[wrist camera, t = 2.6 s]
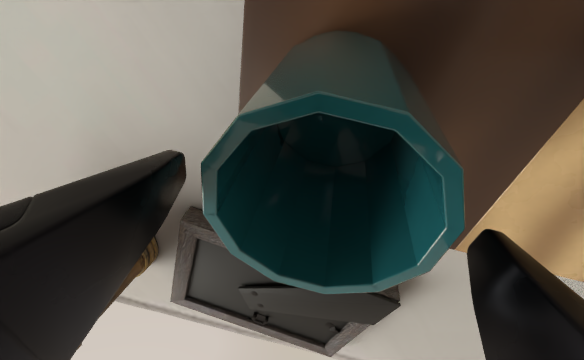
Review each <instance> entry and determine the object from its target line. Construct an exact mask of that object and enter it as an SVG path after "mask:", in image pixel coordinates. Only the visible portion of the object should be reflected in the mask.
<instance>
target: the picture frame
mask: <svg viewBox="0 0 584 360" xmlns="http://www.w3.org/2000/svg"><path fill="white" fill-rule="evenodd" d="M399 301H400V298H399V291H398V285H395V286H393V287H390V288H388V289H385V290H383V291H380V292H368V293H344V294H322V293H318V292H314V291H310V290H306V289H302V288H298V287H295V286H291V285H287V284H283V283H279V282H275V281H273V280H271V279H270V278H268V277H266V276H265V275H263V274H262V273H260V272H259V271H257V270H255V269H254V268H252V267H251V266H249V265H248V264H246V263H244V262H243V261H241V260H240V259H238V258H237V257H235V256H233V255H232V254H230V252H229V251H228V249H227V248H226V246H225V245H224V244H223V242H222V241H221V239H220V238H219V236H218V235H217V233H216V232H215V231H214V229H213V228H212V226H211V225H210V223H209V222H208V220H207V219H206V218H205V216H204V215H203V211H202V210H199V209H196V208H194V207H191V206H190V208H189V209H188V211H187V212H186V213H185V215H184V216H183V218H182V219H181V222H180V230H179V238H178V246H177V254H176V262H175V270H174V278H173V286H172V294H171V302H173V303H175V304H178V305H181V306H184V307H187V308H190V309H193V310H196V311H199V312H201V313H204V314H207V315H210V316H213V317H216V318H219V319H222V320H225V321H228V322H230V323H233V324H236V325H239V326H242V327H245V328H248V329H251V330H254V331H257V332H259V333H262V334H265V335H268V336H271V337H274V338H277V339H280V340H283V341H286V342H288V343H291V344H294V345H297V346H300V347H303V348H306V349H309V350H312V351H315V352H317V353H320V354H323V355H326V356H329V357H331V356H333V355H334V354H335V353H336V352H337V351H339V350H340V349H341V348H342V347H344V346H345V345H346V344H347V343H349V342H350V341H351V340H352V339H353V338H355V337H356V336H357V335H358V334H360V333H361V332H362V331H363V330H364V329H366V328H367V327H368V326H369V325H374V324H376V323H377V322H379V321H380V320H381V319H383V318H384V317H386V316H387V315H388V314H390V313H391V312H393V311H394V310H395V309H397V308H398V307H400V303H398V302H399Z"/></svg>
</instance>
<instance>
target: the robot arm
mask: <svg viewBox="0 0 584 360" xmlns="http://www.w3.org/2000/svg"><path fill="white" fill-rule="evenodd" d="M185 179H186V166H185V157H184V154H183V153H181V152H177V151H173V150H167V151H164V152H161V153H158V154H155V155H152V156H149V157H146V158H144V159H141V160H138V161H135V162H132V163H129V164H126V165H123V166H120V167H117V168H114V169H111V170H108V171H105V172H102V173H99V174H96V175H93V176H90V177H87V178H84V179H81V180H78V181H75V182H72V183H69V184H66V185H63V186H60V187H57V188H54V189H52V190H49V191H46V192H43V193H40V194H37V195H34V197H28V198H25V199H22V200H19V201H16V202H13V203H10V204H7V205H4V206H1V207H0V360H70V359H71V358H72V356H73V355H74V353H75V352H76V350H77V349H78V347H79V346H80V344H81V343H82V341H83V340H84V338H85V337H86V336H87V334H88V333H89V331H90V330H91V328H92V327H93V325H94V324H95V322H96V321H97V319H98V318H99V317H100V315H101V314H102V312H103V311H104V309H105V308H106V306H107V305H108V303H109V302H110V300H111V299H112V297H113V296H114V295H115V293H116V292H117V290H118V289H119V287H120V286H121V284H122V283H123V281H124V280H125V278H126V277H127V275H128V274H129V273H130V271H131V270H132V268H133V267H134V265H135V264H136V262H137V261H138V259H139V258H140V256H141V255H142V253H143V252H144V251H145V249H146V248H147V246H148V245H149V243H150V242H151V240H152V239H153V237H154V236H155V234H156V233H157V231H158V230H159V228H160V227H161V225H162V224H163V222H164V220H165V219H166V217H167V215H168V213H169V211H170V209H171V207H172V205H173V203H174V202H175V200H176V198H177V196H178V194H179V192H180V190H181V188H182V186H183V184H184V182H185ZM467 259H468V268H469V276H470V285H471V293H472V300H473V306H474V311H475V315H476V319H477V324H478V328H479V332H480V337H481V341H482V345H483V349H484V354H485V358H486V360H584V299H583V298H581V297H580V296H579V295H578V294H577V293H575V292H574V291H573V290H572V289H571V288H569V287H568V286H567V285H566V284H564V283H563V282H562V281H561V280H560V279H558V278H557V277H556V276H555V275H554V274H552V273H551V272H550V271H549V270H548V269H546V268H545V267H544V266H543V265H541V264H540V263H539V262H538V261H537V260H535V259H534V258H533V257H532V256H531V255H529V254H528V253H527V252H526V251H525V250H523V249H522V248H521V247H520V246H518V245H517V244H516V243H515V242H514V241H512V240H511V239H510V238H509V237H508V236H506V235H505V234H504V233H502V232H500V231H496V230H492V229H485V230H483V231H482V232H481V233H480V234H479V235H478V236H477V237H476V238H475V240H474V241H473V242H472V243H471V244H470V245H469V247H468V249H467Z"/></svg>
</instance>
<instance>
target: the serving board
mask: <svg viewBox="0 0 584 360" xmlns="http://www.w3.org/2000/svg"><path fill="white" fill-rule="evenodd" d="M336 30H337V31H349V32H356V33H360V34H363V35H367V36H369V37H371V38H373V39H376V40H380V41H381V42H382V43H383V44H384V45H385V46H386V47H387V48H388V49H389V50H390V51H391V52H393V53H394V55H395V56H396V57H397V59H398V60H399V61H400V63H401V64H402V65H403V66H404V67H405V68H406V69H407V70H408V71H409V73H410V75H411V76H412V78H413V80H414V82H415V83H416V85H417V87H418V89H419V91H420V92H421V94H422V96H423V98H424V99H425V101H426V103H427V105H428V107H429V108H430V110H431V112H432V114H433V115H434V117H435V119H436V121H437V123H438V124H439V126H440V128H441V130H442V131H443V133H444V135H445V137H446V138H447V140H448V142H449V144H450V146H451V147H452V149H453V151H454V153H455V154H456V156H457V158H458V160H459V162H460V163H461V165H462V167H463V169H464V201H465V229H464V231H463V232H462V233H461V235H460V236H459V237H458V238H457V239H456V241H455V242H454V243H453V244H452V245H451V247H450V248H449V249H453V250H458V251H462V252H466V253H467V249H468V247H469V245H470V244H471V243H472V242H473V241H474V240H475V238H476V237H477V236H478V235H479V234H480V233H481V232H482V231H483V230H485V229H492V230H496V231H500V232H502V233H504V234H505V235H506V236H508V237H509V238H510V239H511V240H512V241H514V242H515V243H516V244H517V245H518V246H520V247H521V248H522V249H523V250H525V251H526V252H527V253H528V254H529V255H531V256H532V257H533V258H534V259H535V260H537V261H538V262H539V263H540V264H541V265H543V266H544V267H545V268H546V269H548V270H549V271H550V272H551V273H552V274H554V275H557V276H561V277H565V278H569V279H573V280H577V281H581V282H584V0H245V5H244V23H243V41H242V59H241V77H240V95H239V112H238V114H239V113H240V112H241V111H242V109H243V108H244V107H245V106H246V104H247V103H248V102H249V101H250V100H251V98H252V97H253V96H254V95H255V93H256V92H257V91H258V90H259V88H260V87H261V86H262V85H263V83H264V82H265V81H266V80H267V78H268V77H269V76H270V75H271V73H272V72H273V71H274V70H275V68H276V67H277V66H278V65H279V63H280V62H281V61H282V60H283V58H284V57H285V56H286V55H287V53H288V52H289V51H290V50H291V48H292V47H293V46H294V45H297V44H300V43H302V42H304V41H305V40H307V39H309V38H312V37H314V36H316V35H320V34H323V33H327V32H332V31H336Z"/></svg>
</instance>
